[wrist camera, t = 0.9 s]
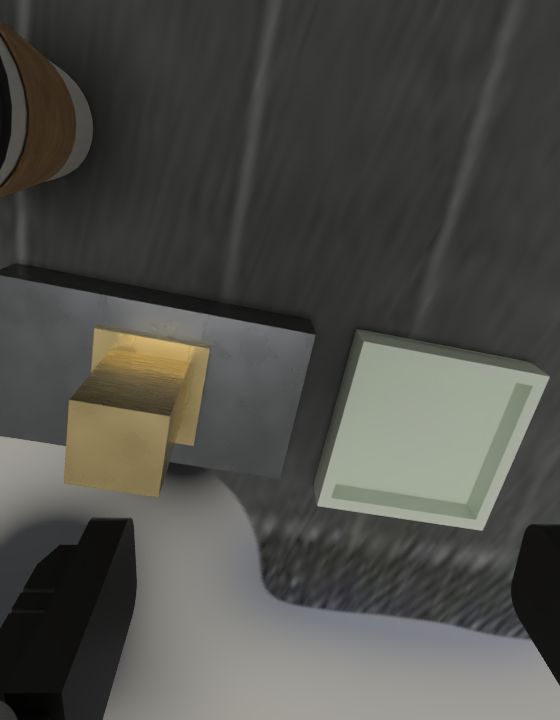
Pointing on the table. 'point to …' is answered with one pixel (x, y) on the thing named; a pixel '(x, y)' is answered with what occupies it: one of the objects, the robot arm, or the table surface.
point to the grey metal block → (160, 318)
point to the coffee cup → (38, 117)
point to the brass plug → (133, 410)
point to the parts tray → (425, 430)
